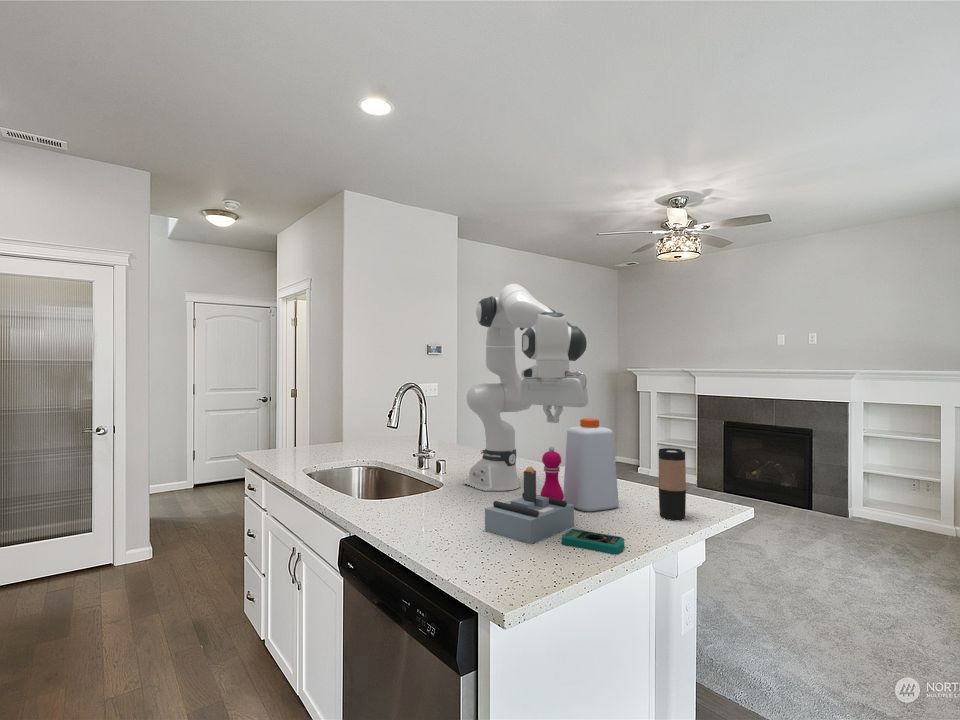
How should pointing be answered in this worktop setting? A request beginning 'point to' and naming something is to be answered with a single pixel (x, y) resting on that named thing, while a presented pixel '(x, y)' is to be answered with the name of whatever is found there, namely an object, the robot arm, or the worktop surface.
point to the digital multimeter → (593, 541)
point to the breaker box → (529, 520)
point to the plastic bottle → (590, 467)
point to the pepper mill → (552, 475)
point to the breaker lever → (530, 485)
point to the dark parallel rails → (526, 510)
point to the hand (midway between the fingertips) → (552, 422)
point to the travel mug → (672, 483)
